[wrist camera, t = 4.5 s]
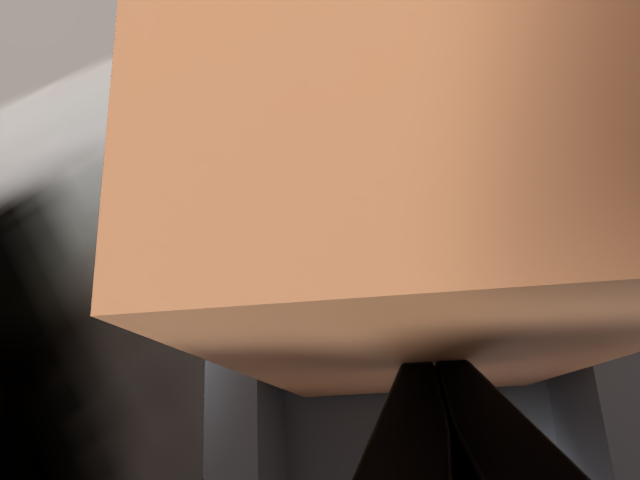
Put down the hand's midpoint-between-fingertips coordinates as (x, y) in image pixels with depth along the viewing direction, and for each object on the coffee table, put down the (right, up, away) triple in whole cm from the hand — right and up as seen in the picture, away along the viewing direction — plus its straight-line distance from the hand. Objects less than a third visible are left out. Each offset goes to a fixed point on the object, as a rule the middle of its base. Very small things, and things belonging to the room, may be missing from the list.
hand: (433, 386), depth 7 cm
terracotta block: (+1, +1, +6) cm, 6 cm away
